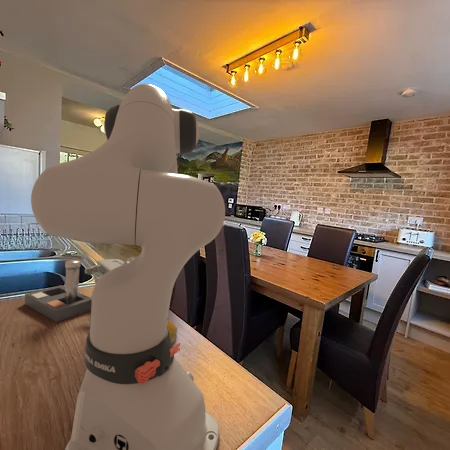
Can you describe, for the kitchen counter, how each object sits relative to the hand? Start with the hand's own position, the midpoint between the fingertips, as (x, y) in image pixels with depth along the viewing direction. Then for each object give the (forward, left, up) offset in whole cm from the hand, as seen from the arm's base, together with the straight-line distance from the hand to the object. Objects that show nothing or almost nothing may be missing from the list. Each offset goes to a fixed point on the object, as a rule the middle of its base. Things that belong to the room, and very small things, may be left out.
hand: (90, 275), depth 75 cm
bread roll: (-27, -1, -10) cm, 29 cm away
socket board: (+5, +6, -9) cm, 12 cm away
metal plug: (+1, +5, -9) cm, 10 cm away
